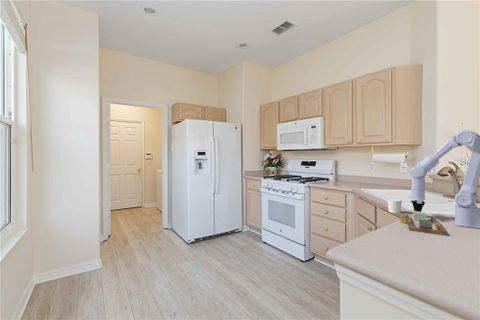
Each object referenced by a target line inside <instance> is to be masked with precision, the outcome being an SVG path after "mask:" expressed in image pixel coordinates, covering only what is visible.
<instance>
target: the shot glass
mask: <svg viewBox="0 0 480 320" xmlns="http://www.w3.org/2000/svg"><path fill="white" fill-rule="evenodd" d="M402 202H403V201H402V200H401V199H396V198H388V199H387V207H388V212H389V213H392V214H401V210H402V204H403V203H402Z"/></svg>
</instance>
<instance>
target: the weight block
mask: <svg viewBox="0 0 480 320" xmlns="http://www.w3.org/2000/svg"><path fill="white" fill-rule="evenodd" d="M418 227H420V228H428V229H433V223H432V222H431V220H428V219H427V220H419V221H418Z"/></svg>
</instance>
